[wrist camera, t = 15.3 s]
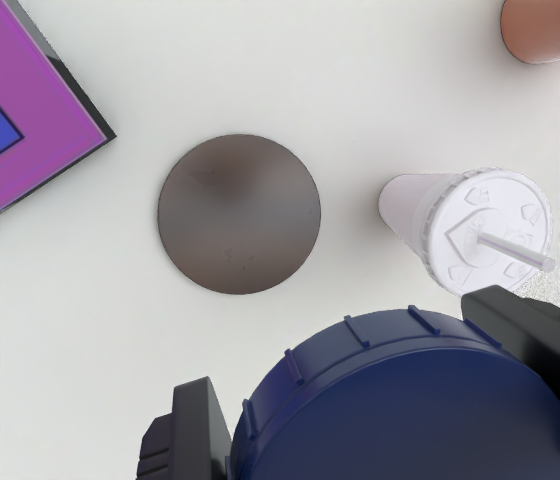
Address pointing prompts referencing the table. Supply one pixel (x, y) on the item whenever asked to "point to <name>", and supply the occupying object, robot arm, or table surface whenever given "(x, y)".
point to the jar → (532, 30)
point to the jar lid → (398, 407)
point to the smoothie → (472, 226)
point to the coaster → (239, 214)
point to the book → (39, 110)
